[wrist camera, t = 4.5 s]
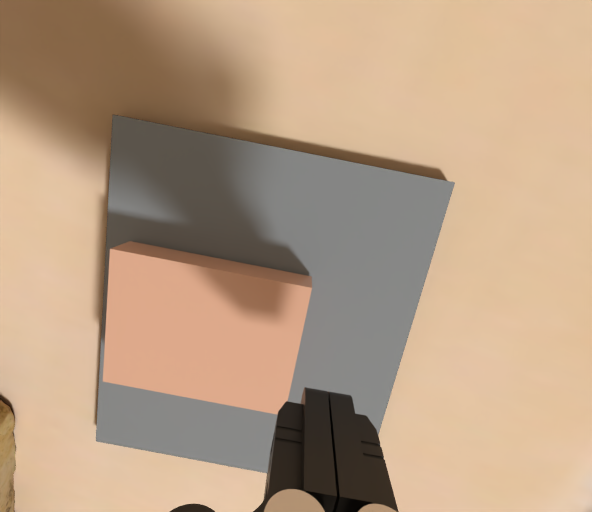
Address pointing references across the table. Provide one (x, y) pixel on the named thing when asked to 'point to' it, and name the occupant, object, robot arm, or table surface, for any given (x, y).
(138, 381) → the tile
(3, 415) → the rock
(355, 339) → the mat
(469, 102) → the table surface
